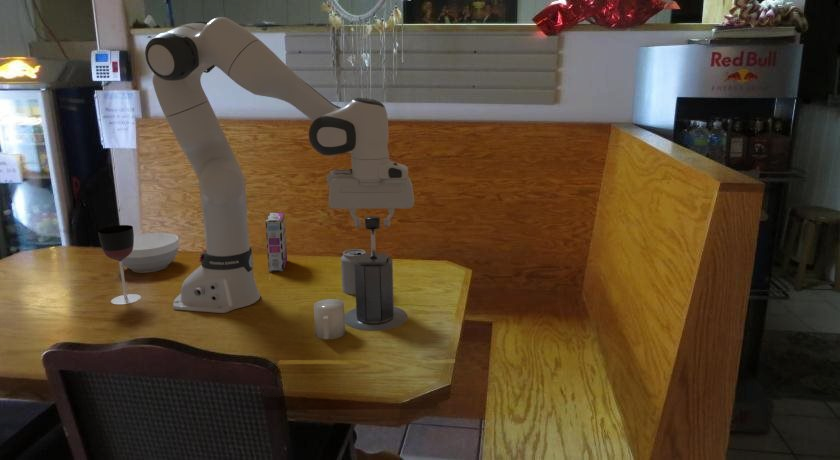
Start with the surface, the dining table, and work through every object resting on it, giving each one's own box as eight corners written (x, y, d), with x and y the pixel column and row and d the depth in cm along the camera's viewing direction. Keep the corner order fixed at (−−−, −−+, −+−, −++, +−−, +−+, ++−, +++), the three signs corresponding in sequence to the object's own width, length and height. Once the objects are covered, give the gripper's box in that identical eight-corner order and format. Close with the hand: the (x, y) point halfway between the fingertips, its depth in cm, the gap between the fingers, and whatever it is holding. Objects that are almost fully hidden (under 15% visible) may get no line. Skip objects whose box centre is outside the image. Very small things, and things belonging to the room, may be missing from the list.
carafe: (355, 324, 150) (352, 264, 146) (360, 306, 161) (357, 249, 157) (392, 324, 150) (391, 263, 146) (395, 305, 161) (393, 248, 157)
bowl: (167, 277, 186) (163, 249, 184) (105, 277, 187) (101, 250, 184) (190, 257, 205) (187, 232, 202) (134, 258, 205) (130, 232, 203)
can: (364, 298, 169) (363, 256, 165) (338, 296, 170) (336, 255, 167) (372, 288, 176) (371, 248, 172) (347, 286, 177) (345, 247, 174)
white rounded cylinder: (311, 347, 140) (309, 314, 138) (318, 329, 149) (316, 299, 147) (342, 346, 140) (340, 314, 138) (347, 329, 149) (345, 298, 147)
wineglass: (149, 295, 172) (139, 226, 166) (122, 307, 164) (112, 235, 159) (128, 291, 175) (118, 223, 170) (102, 302, 167) (90, 231, 162)
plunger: (360, 272, 148) (358, 221, 144) (362, 264, 154) (360, 214, 150) (385, 272, 148) (384, 220, 144) (387, 264, 154) (386, 214, 150)
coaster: (339, 333, 147) (339, 330, 147) (347, 307, 162) (347, 304, 162) (406, 333, 147) (406, 330, 146) (408, 307, 162) (408, 304, 162)
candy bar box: (285, 271, 190) (281, 220, 186) (268, 272, 190) (264, 221, 185) (288, 260, 201) (285, 211, 196) (272, 261, 200) (269, 212, 196)
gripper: (324, 171, 141) (327, 229, 145) (413, 171, 141) (414, 229, 145) (328, 167, 147) (331, 223, 151) (413, 166, 147) (414, 222, 151)
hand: (372, 226), depth 148 cm, fingers open, 5 cm apart
